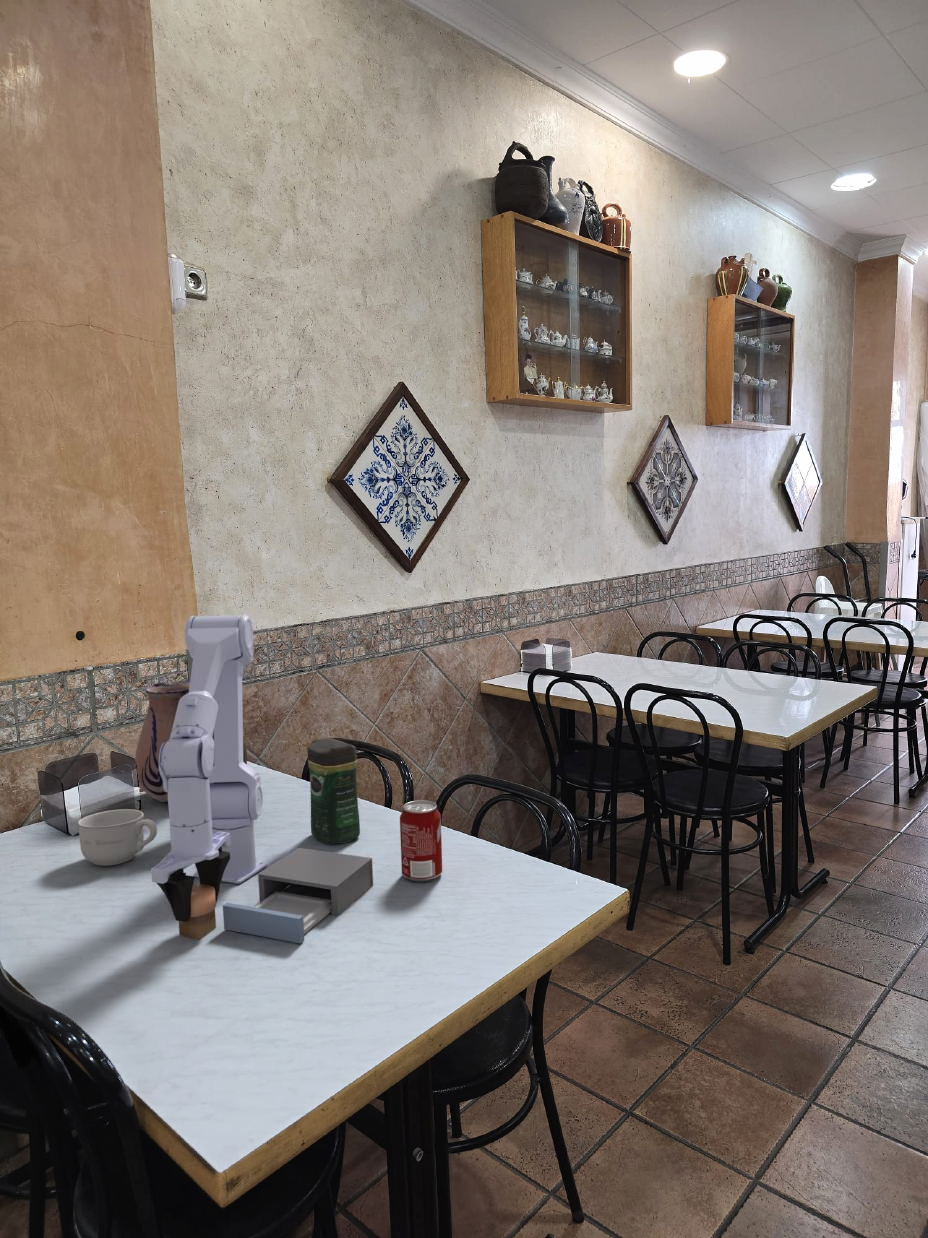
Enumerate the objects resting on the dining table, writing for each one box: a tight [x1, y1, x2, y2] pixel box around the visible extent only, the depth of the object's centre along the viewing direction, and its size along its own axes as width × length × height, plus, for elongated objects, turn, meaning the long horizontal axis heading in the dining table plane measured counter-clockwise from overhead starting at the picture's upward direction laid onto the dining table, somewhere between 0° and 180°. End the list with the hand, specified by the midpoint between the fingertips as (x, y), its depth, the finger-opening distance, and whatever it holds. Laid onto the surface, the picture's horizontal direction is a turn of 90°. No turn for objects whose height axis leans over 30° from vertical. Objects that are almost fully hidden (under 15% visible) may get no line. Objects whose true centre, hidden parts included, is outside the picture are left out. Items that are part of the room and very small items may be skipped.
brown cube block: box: [178, 908, 217, 940], centre depth 119 cm, size 4×4×4 cm
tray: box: [222, 891, 332, 944], centre depth 122 cm, size 13×11×4 cm
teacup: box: [77, 808, 158, 867], centre depth 146 cm, size 14×11×8 cm
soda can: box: [399, 799, 443, 883], centre depth 136 cm, size 7×7×12 cm
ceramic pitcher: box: [134, 680, 190, 803], centre depth 180 cm, size 18×21×25 cm
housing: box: [257, 847, 374, 917], centre depth 131 cm, size 14×11×5 cm
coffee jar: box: [307, 737, 361, 845], centre depth 155 cm, size 10×8×19 cm
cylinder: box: [190, 884, 217, 917], centre depth 119 cm, size 5×5×2 cm
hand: (196, 911), depth 119 cm, fingers closed on cylinder, 5 cm apart
